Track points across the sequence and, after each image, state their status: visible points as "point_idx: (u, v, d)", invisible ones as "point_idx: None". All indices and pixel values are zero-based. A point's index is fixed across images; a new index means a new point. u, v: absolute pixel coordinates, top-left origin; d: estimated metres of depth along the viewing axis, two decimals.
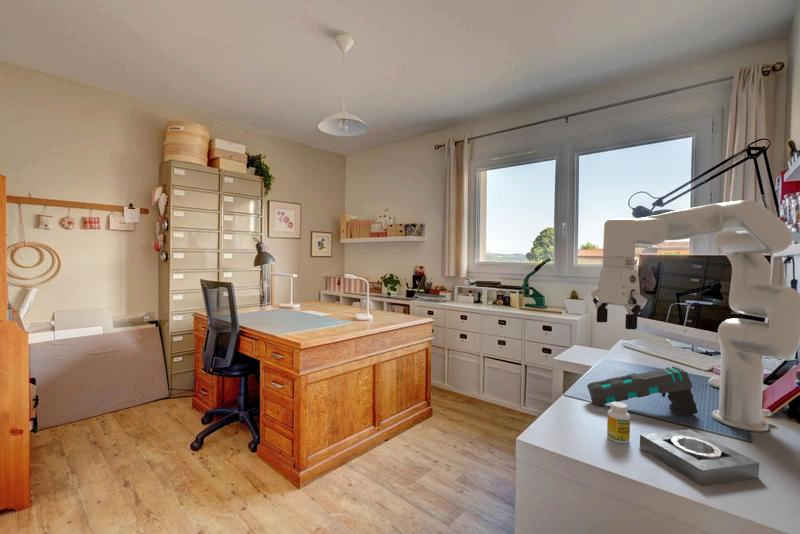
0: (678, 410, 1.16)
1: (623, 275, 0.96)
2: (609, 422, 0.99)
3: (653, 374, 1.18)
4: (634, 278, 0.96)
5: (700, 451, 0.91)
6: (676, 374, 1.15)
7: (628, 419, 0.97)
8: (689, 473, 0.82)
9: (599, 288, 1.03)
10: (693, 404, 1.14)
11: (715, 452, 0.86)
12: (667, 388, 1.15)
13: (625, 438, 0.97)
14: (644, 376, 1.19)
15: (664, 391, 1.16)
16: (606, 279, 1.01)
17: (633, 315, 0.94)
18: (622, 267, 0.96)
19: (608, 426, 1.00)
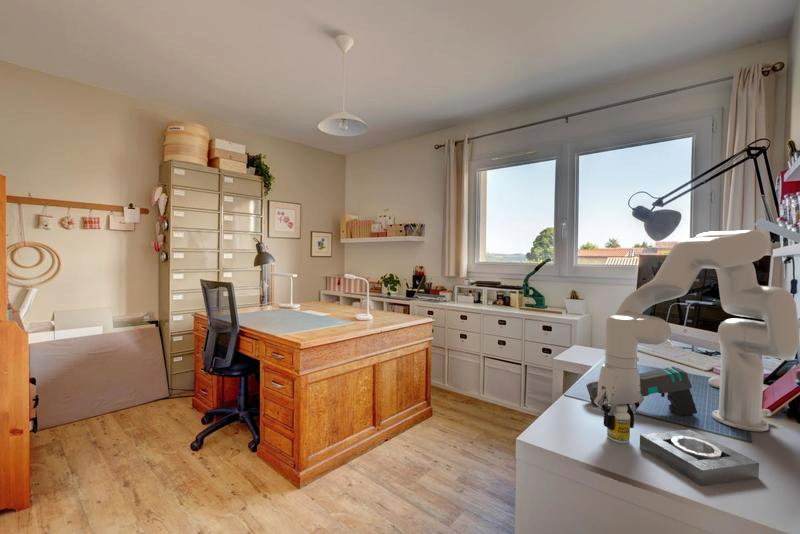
0: (677, 410, 1.15)
1: (637, 373, 0.98)
2: None
3: (652, 374, 1.18)
4: None
5: (700, 451, 0.91)
6: (675, 375, 1.15)
7: (628, 419, 0.97)
8: (689, 473, 0.82)
9: (614, 391, 0.96)
10: (692, 404, 1.14)
11: (715, 452, 0.86)
12: (666, 388, 1.15)
13: (625, 438, 0.97)
14: (643, 376, 1.19)
15: (663, 391, 1.16)
16: (623, 380, 0.96)
17: None
18: None
19: None
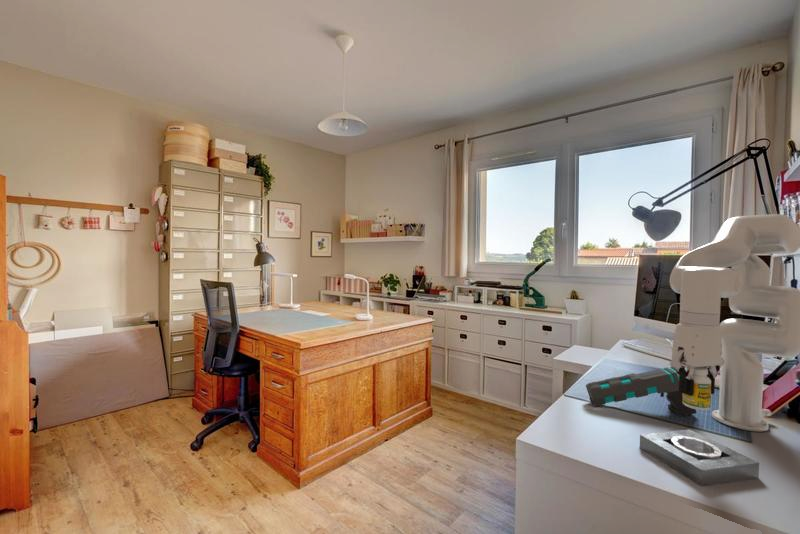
0: (677, 410, 1.15)
1: (719, 332, 0.87)
2: None
3: (652, 374, 1.18)
4: None
5: (700, 451, 0.91)
6: (674, 375, 1.15)
7: (709, 383, 0.86)
8: (689, 473, 0.82)
9: (694, 351, 0.85)
10: None
11: (715, 452, 0.86)
12: (666, 388, 1.15)
13: (706, 404, 0.86)
14: (643, 376, 1.19)
15: (663, 391, 1.16)
16: (704, 339, 0.85)
17: None
18: None
19: None
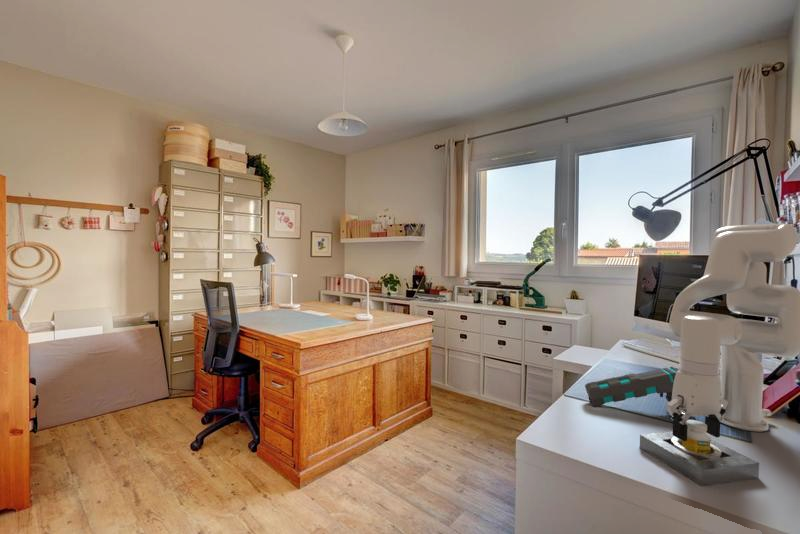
0: None
1: (718, 381, 0.87)
2: (685, 443, 0.89)
3: (651, 374, 1.18)
4: None
5: None
6: (673, 375, 1.14)
7: (709, 440, 0.86)
8: (689, 473, 0.82)
9: (694, 400, 0.85)
10: None
11: (715, 452, 0.86)
12: (665, 388, 1.15)
13: None
14: (642, 376, 1.19)
15: (662, 391, 1.16)
16: (704, 388, 0.85)
17: None
18: None
19: None
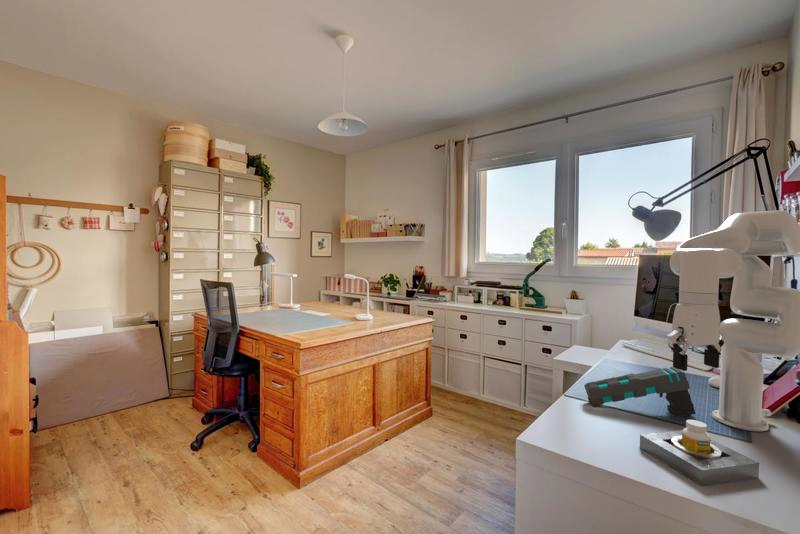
0: (675, 411, 1.15)
1: (717, 311, 0.88)
2: (685, 443, 0.89)
3: (650, 374, 1.18)
4: None
5: None
6: (673, 375, 1.14)
7: (709, 440, 0.86)
8: (689, 473, 0.82)
9: (693, 330, 0.87)
10: (691, 405, 1.13)
11: (715, 452, 0.86)
12: (664, 388, 1.15)
13: None
14: (641, 376, 1.18)
15: (661, 391, 1.16)
16: (703, 318, 0.87)
17: None
18: None
19: None
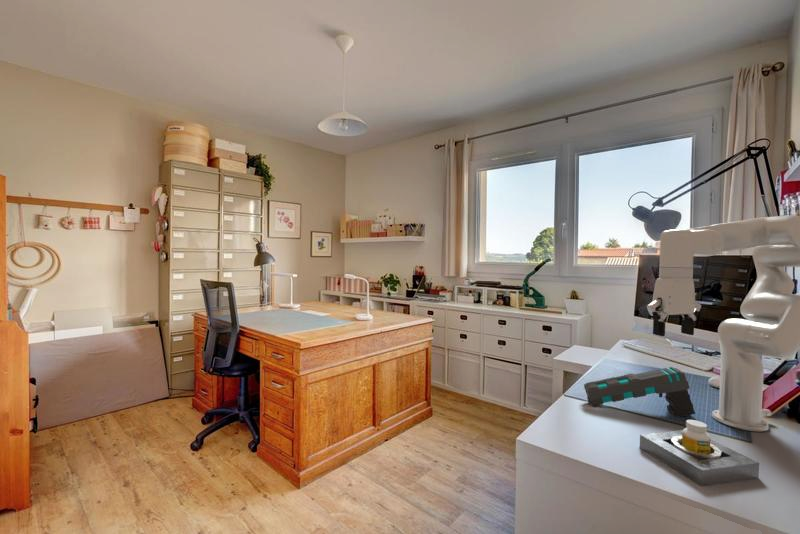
0: (675, 411, 1.15)
1: (692, 284, 1.00)
2: (685, 443, 0.88)
3: (650, 374, 1.18)
4: None
5: None
6: (672, 375, 1.14)
7: (709, 440, 0.86)
8: (689, 473, 0.82)
9: (670, 300, 0.99)
10: (690, 405, 1.13)
11: (715, 452, 0.86)
12: (664, 389, 1.15)
13: None
14: (641, 376, 1.18)
15: (661, 392, 1.16)
16: (679, 290, 0.99)
17: None
18: None
19: None
